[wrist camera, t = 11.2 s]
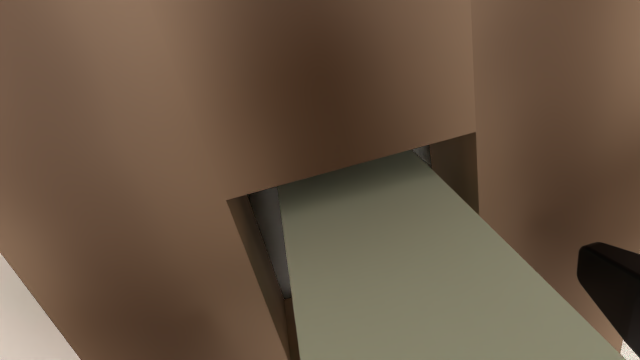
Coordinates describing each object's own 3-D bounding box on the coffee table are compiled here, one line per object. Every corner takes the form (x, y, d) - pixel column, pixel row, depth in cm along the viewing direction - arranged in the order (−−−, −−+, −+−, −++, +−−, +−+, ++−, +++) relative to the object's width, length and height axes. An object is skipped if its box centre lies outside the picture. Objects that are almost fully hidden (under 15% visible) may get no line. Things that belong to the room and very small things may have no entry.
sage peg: (399, 137, 12) (679, 412, 4) (412, 239, 14) (626, 567, 6) (275, 169, 12) (321, 521, 4) (304, 269, 14) (376, 647, 6)
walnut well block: (596, -143, 10) (726, -194, 7) (558, 313, 17) (616, 373, 14) (-47, 15, 9) (-171, 24, 6) (199, 420, 16) (189, 503, 14)
